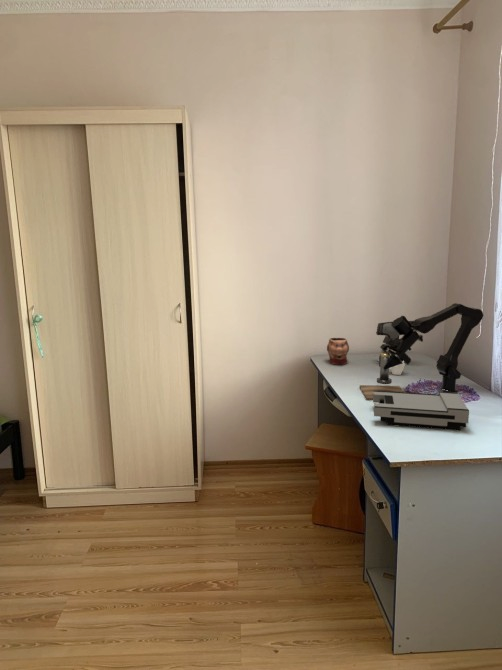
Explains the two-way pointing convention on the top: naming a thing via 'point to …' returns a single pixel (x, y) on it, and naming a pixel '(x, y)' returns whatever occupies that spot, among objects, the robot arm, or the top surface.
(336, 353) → the decorative planter
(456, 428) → the retro console
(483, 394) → the top surface
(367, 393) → the board
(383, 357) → the grey cylinder with base
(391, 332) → the cordless drill
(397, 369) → the mug
